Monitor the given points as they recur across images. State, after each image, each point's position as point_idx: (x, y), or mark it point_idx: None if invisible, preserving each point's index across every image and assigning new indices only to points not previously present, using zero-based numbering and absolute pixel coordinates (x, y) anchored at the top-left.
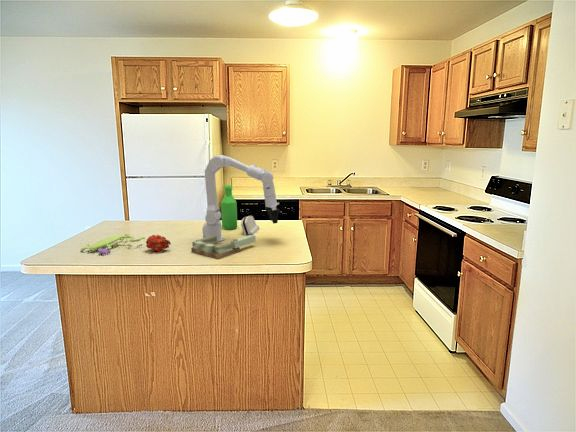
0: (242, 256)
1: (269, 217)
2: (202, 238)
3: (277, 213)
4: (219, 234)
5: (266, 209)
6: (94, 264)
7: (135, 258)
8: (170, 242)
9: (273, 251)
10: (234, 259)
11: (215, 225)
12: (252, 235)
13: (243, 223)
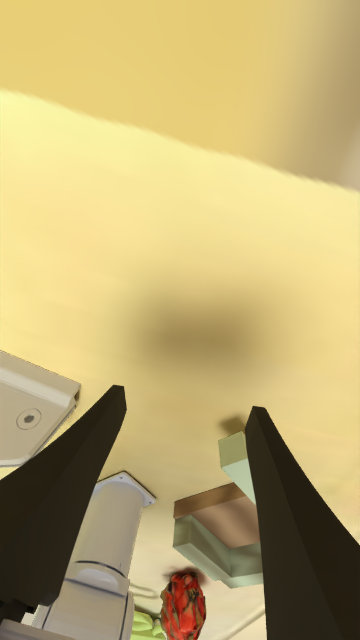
0: (339, 473)
1: (112, 443)
2: (201, 569)
3: (357, 553)
4: (130, 513)
5: (62, 578)
6: (234, 629)
7: (225, 601)
8: (191, 597)
9: (349, 376)
10: (354, 495)
11: (126, 576)
12: (236, 465)
13: (27, 460)
